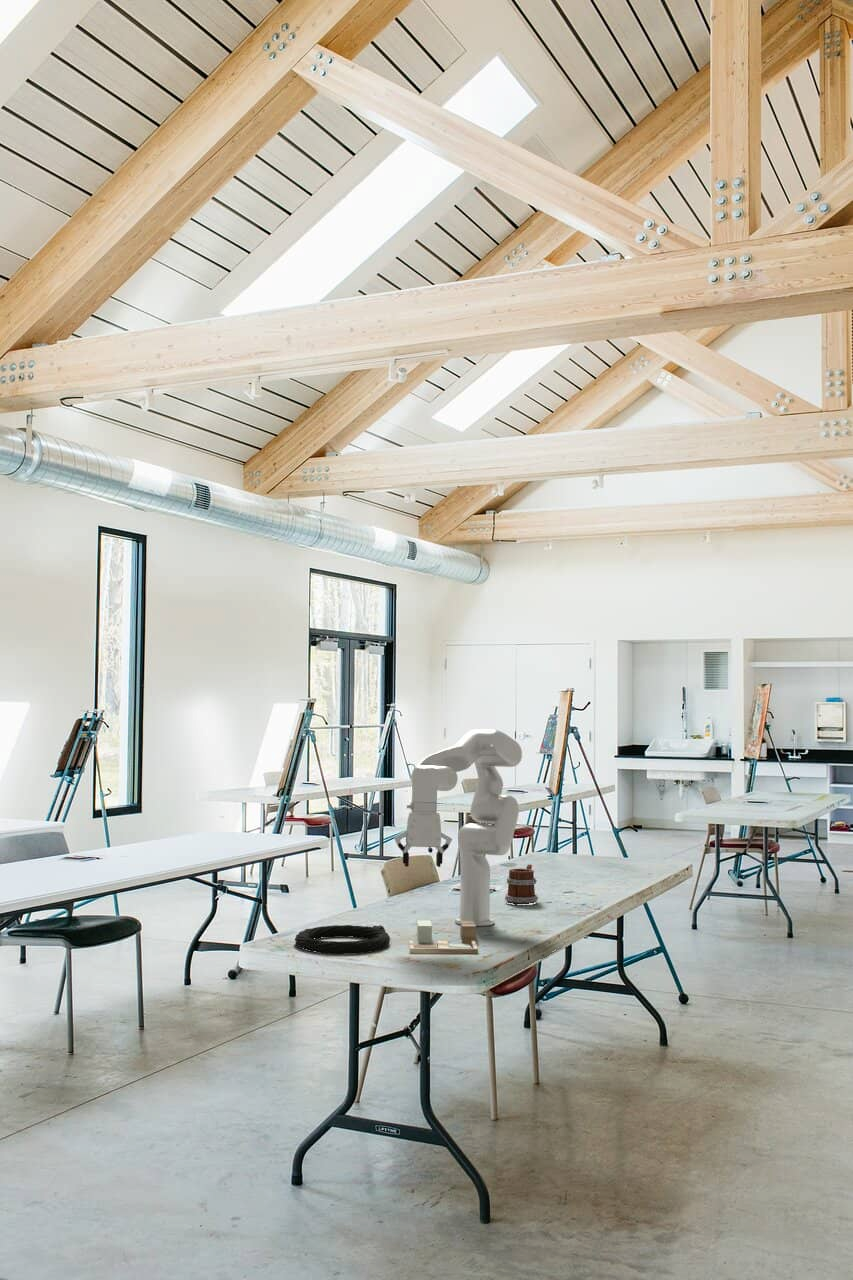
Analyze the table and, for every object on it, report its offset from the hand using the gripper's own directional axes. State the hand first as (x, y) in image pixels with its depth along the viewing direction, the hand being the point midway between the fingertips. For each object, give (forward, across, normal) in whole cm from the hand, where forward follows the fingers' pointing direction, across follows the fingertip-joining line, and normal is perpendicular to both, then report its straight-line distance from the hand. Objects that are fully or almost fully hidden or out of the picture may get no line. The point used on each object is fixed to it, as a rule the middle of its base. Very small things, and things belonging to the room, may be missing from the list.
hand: (422, 866), depth 328 cm
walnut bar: (+22, +14, -1) cm, 26 cm away
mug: (+19, +48, +62) cm, 81 cm away
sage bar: (+22, +1, +1) cm, 22 cm away
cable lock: (+23, -22, -2) cm, 32 cm away
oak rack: (+22, +4, -12) cm, 25 cm away
